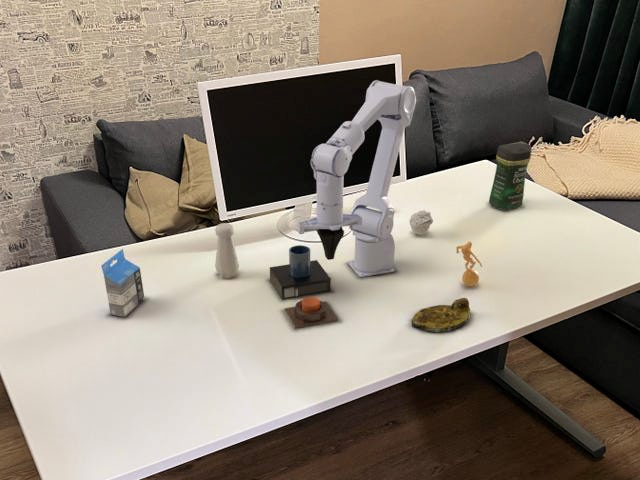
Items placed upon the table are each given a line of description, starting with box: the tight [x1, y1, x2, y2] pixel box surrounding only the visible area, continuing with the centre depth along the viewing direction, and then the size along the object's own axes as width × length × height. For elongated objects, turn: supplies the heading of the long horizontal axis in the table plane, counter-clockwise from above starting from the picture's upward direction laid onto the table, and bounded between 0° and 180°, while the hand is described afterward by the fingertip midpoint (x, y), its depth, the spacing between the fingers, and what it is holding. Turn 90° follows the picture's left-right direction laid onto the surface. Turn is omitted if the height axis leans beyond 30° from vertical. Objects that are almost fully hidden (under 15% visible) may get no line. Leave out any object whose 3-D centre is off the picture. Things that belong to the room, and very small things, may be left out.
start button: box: [301, 296, 321, 312], centre depth 162 cm, size 4×4×2 cm
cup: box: [288, 244, 311, 278], centre depth 171 cm, size 5×5×6 cm
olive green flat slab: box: [411, 297, 471, 333], centre depth 162 cm, size 9×5×15 cm
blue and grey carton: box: [101, 248, 145, 318], centre depth 162 cm, size 9×4×12 cm, turn 163°
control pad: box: [283, 299, 339, 330], centre depth 163 cm, size 10×8×2 cm
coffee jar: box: [488, 141, 532, 211], centre depth 212 cm, size 10×8×19 cm
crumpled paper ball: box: [409, 209, 434, 236], centre depth 198 cm, size 6×7×7 cm
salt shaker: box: [214, 222, 240, 279], centre depth 175 cm, size 6×6×13 cm
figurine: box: [456, 241, 483, 287], centre depth 173 cm, size 8×6×12 cm
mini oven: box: [269, 259, 332, 301], centre depth 174 cm, size 12×11×4 cm
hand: (329, 257), depth 165 cm, fingers closed
